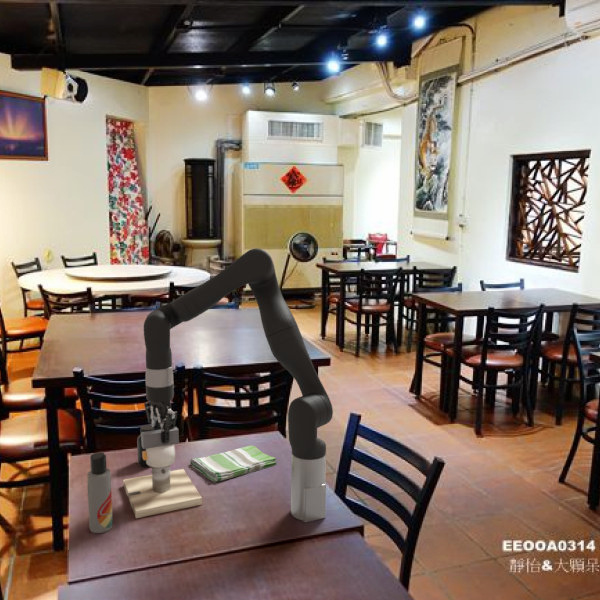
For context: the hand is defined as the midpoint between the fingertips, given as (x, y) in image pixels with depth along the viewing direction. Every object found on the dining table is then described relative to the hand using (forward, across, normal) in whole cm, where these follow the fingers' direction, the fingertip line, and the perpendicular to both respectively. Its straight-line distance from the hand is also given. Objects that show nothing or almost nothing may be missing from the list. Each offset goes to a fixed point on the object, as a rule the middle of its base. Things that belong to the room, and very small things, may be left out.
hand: (161, 440), depth 167 cm
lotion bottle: (+16, -4, +21) cm, 27 cm away
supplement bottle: (+17, +22, -8) cm, 28 cm away
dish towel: (+17, +2, -27) cm, 32 cm away
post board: (+16, 0, 0) cm, 16 cm away
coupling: (+6, 0, 0) cm, 6 cm away
